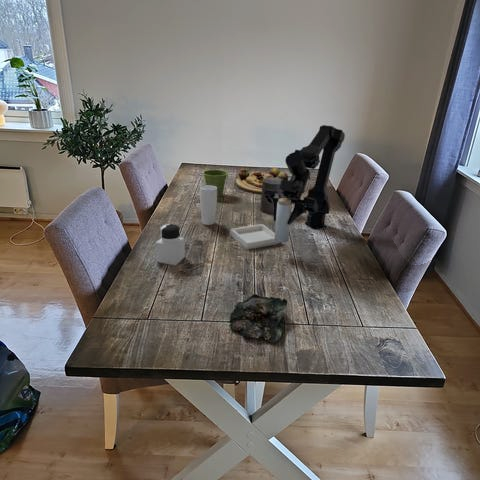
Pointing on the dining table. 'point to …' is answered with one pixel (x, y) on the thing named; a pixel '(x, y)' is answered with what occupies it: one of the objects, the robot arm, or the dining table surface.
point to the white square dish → (254, 236)
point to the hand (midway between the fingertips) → (281, 222)
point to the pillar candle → (273, 185)
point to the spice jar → (283, 219)
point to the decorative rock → (259, 317)
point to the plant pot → (216, 179)
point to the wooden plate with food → (257, 179)
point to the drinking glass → (208, 203)
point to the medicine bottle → (170, 245)
